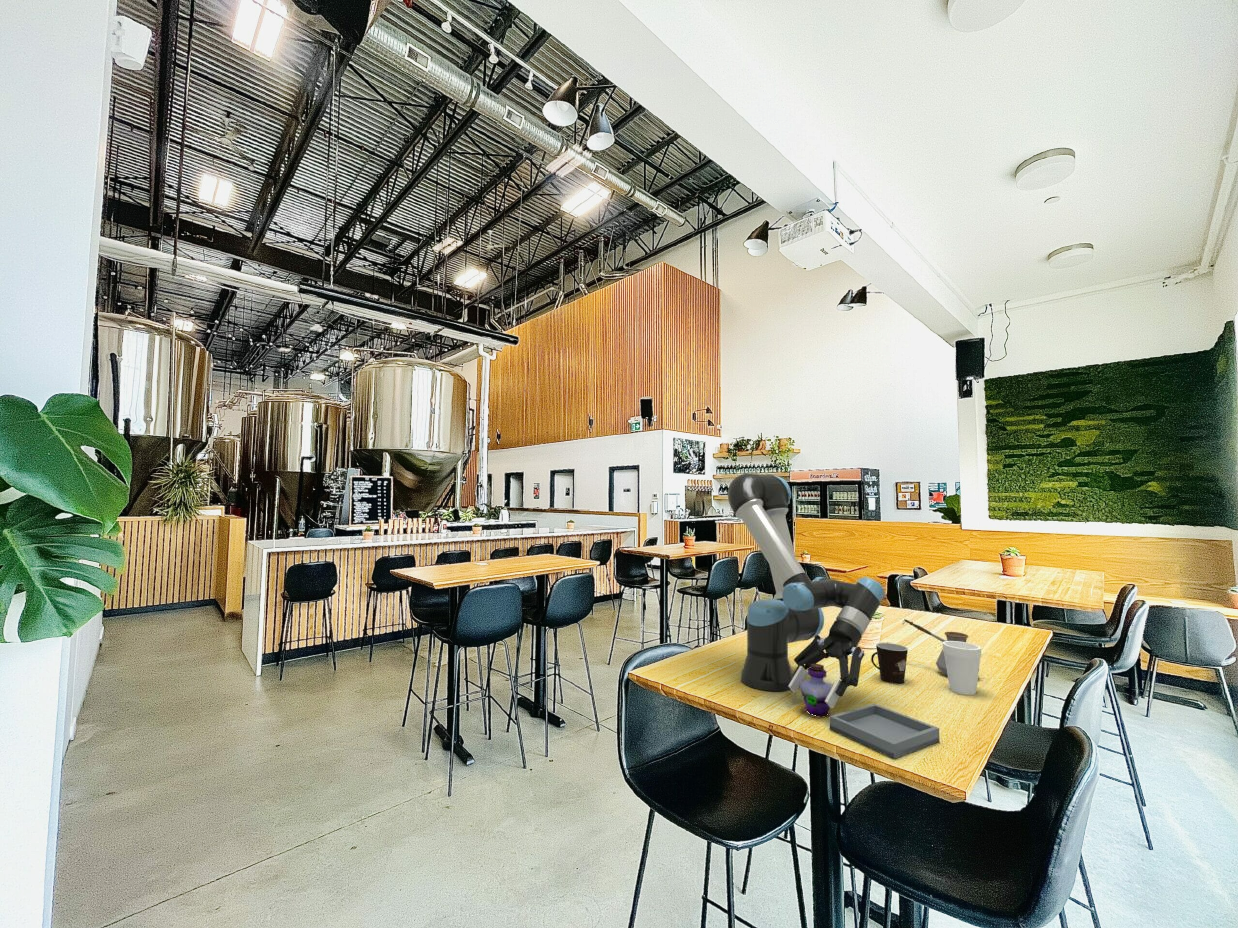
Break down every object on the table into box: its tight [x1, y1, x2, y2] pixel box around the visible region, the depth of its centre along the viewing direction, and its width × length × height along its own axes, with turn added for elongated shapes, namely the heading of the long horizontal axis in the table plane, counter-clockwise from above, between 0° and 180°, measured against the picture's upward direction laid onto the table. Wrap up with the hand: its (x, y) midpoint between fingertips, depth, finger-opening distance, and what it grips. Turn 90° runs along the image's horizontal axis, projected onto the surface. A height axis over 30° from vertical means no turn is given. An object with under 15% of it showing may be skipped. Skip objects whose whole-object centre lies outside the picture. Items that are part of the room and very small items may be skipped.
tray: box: [828, 703, 941, 760], centre depth 120 cm, size 16×17×3 cm
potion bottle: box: [799, 663, 834, 718], centre depth 133 cm, size 9×9×12 cm
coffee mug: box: [870, 642, 909, 685], centre depth 159 cm, size 12×9×10 cm
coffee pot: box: [901, 618, 970, 677], centre depth 168 cm, size 21×12×15 cm, turn 45°
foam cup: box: [942, 640, 982, 696], centre depth 150 cm, size 10×9×13 cm
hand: (809, 696), depth 131 cm, fingers open, 11 cm apart
